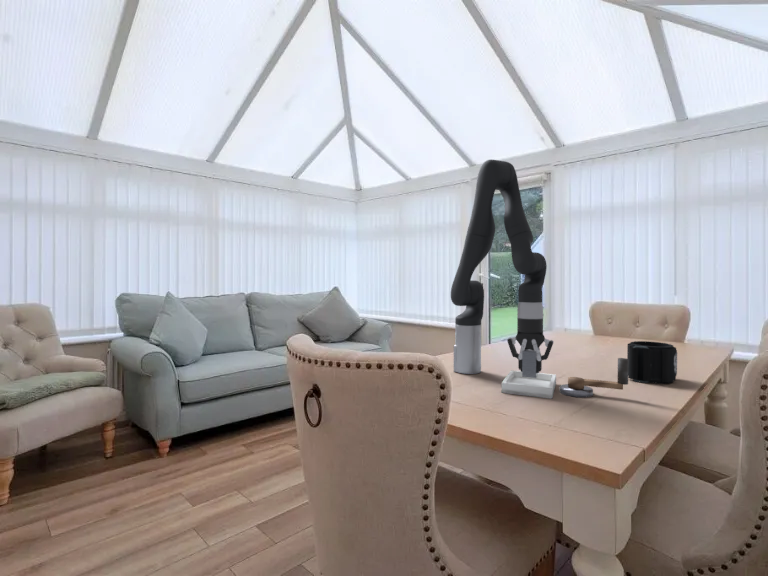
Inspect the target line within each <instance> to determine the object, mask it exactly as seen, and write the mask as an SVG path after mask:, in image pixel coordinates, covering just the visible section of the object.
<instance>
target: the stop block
mask: <svg viewBox="0 0 768 576" xmlns="http://www.w3.org/2000/svg"><path fill="white" fill-rule="evenodd" d="M536 361H537V357H536V351H534V350H531V349H528V350H525V351H522V377H530V378H536V377H537V373H536Z"/></svg>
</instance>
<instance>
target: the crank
mask: <svg viewBox="0 0 768 576" xmlns="http://www.w3.org/2000/svg"><path fill="white" fill-rule="evenodd" d="M567 384H568V387H569V388H571V389H584V386H587V387H591V388H592V387H593V388H603V389H605V388H606V389H613V390H623V391H624V386H625V385H626V386H627V385H629V376H628V359H627V358H626V357H618V358H617V381H611V380H601V379H600V380H599V379H589V378H583V377H577V376H569V377H567Z"/></svg>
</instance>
